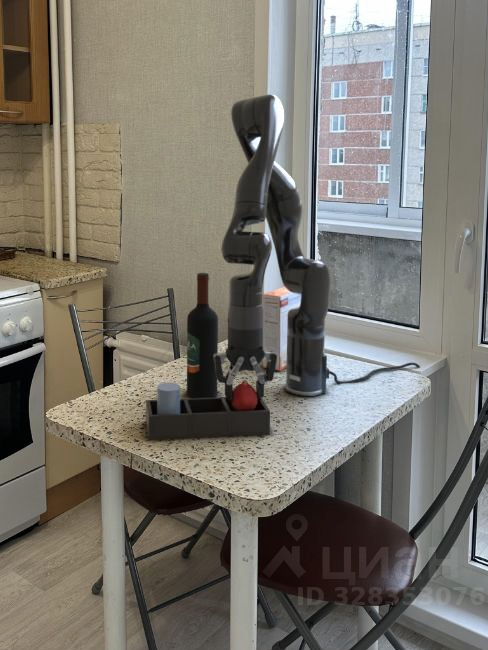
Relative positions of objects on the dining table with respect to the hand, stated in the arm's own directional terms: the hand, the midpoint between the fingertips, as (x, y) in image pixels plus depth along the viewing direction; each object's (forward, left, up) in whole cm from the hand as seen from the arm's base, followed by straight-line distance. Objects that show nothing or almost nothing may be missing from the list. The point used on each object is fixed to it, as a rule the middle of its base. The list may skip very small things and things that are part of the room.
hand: (244, 399), depth 146 cm
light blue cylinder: (+17, 0, -5) cm, 17 cm away
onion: (0, 0, -4) cm, 4 cm away
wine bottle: (+6, -20, -6) cm, 22 cm away
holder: (+8, 0, -6) cm, 10 cm away
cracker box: (-20, -41, -6) cm, 46 cm away
